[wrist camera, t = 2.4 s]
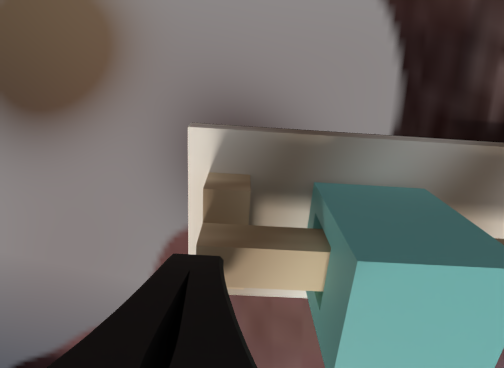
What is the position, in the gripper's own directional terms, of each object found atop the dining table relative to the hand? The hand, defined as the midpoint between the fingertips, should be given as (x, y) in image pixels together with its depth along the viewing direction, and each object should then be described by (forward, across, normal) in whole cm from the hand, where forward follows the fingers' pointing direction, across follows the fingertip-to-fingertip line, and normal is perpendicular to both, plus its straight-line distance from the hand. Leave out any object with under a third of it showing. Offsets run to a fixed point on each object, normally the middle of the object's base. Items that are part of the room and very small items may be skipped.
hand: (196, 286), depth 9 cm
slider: (+3, -6, 0) cm, 7 cm away
